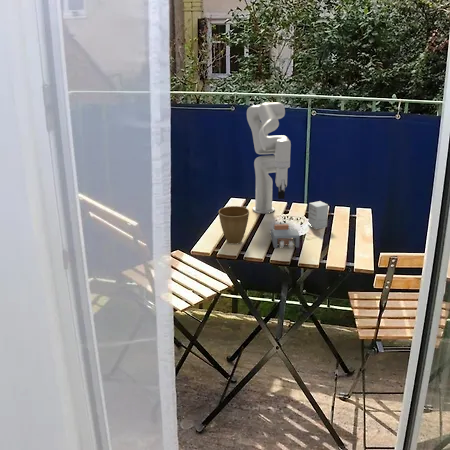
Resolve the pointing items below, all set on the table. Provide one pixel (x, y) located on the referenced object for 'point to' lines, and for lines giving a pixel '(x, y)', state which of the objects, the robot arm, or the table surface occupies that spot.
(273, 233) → the bridge
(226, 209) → the plant pot
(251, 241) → the table surface
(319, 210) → the supplement box
